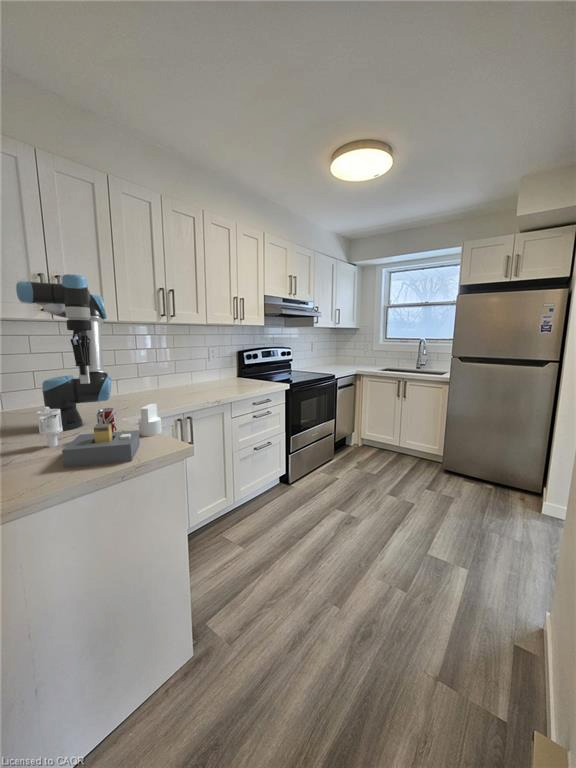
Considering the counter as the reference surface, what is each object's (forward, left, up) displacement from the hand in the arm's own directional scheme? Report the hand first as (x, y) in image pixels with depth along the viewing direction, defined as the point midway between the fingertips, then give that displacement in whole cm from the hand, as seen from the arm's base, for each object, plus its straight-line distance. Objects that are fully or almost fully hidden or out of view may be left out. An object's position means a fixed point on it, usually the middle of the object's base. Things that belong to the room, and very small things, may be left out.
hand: (85, 383), depth 117 cm
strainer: (-3, -14, -25) cm, 28 cm away
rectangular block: (+13, +8, -23) cm, 28 cm away
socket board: (+13, +8, -24) cm, 29 cm away
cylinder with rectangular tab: (-10, +20, -25) cm, 33 cm away
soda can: (-8, +4, -25) cm, 26 cm away
